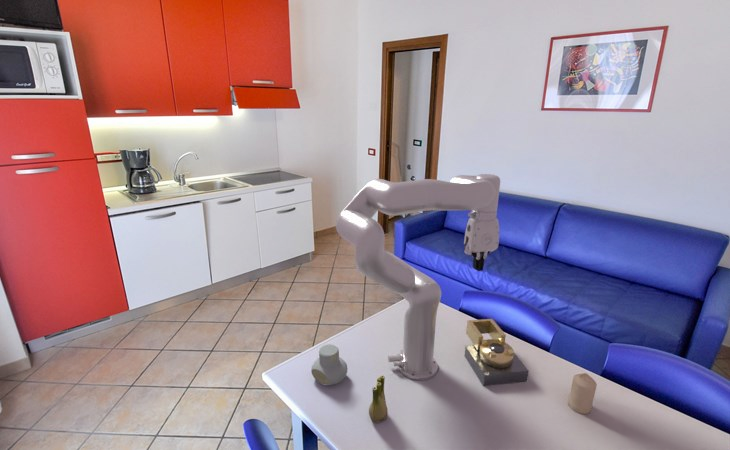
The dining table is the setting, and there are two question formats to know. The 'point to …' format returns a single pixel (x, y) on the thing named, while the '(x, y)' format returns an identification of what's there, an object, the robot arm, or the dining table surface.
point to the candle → (582, 393)
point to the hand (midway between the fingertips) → (477, 269)
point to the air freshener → (329, 366)
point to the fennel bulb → (378, 402)
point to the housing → (495, 369)
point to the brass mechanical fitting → (490, 343)
